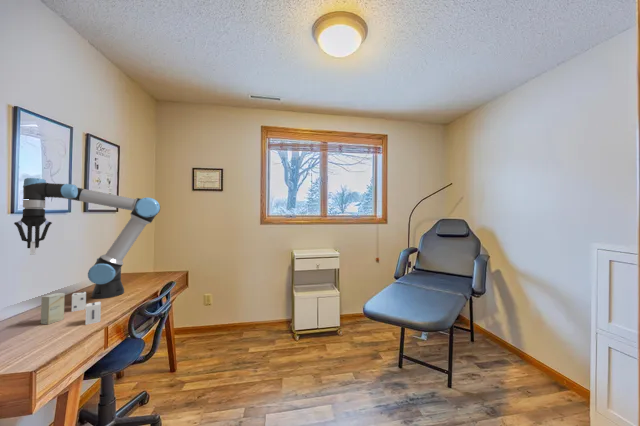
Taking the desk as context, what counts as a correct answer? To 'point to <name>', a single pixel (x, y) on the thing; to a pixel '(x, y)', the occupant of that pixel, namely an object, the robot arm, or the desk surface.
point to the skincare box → (52, 308)
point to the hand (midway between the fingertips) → (33, 254)
